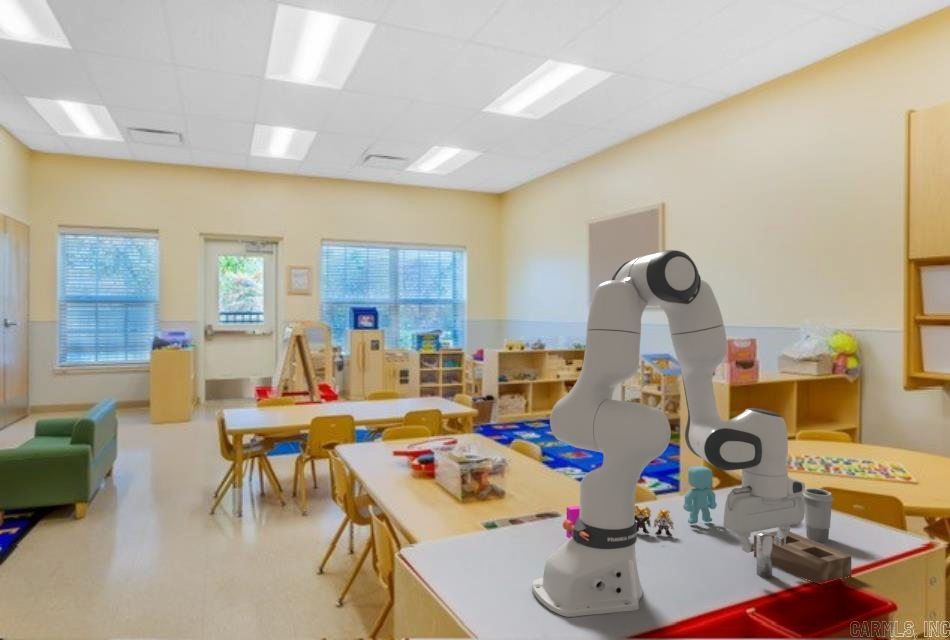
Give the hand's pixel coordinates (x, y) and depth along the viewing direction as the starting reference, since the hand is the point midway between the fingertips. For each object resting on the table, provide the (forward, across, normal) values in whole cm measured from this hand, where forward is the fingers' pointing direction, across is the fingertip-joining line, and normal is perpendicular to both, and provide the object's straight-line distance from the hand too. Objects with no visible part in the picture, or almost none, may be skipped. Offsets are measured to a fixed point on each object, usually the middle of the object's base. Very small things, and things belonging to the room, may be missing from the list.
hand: (764, 547), depth 120 cm
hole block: (+6, +11, 0) cm, 12 cm away
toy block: (+6, -26, +27) cm, 38 cm away
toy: (+6, +11, +30) cm, 32 cm away
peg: (+6, 0, 0) cm, 6 cm away
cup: (+6, +30, +10) cm, 32 cm away
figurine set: (+6, -8, +31) cm, 32 cm away
